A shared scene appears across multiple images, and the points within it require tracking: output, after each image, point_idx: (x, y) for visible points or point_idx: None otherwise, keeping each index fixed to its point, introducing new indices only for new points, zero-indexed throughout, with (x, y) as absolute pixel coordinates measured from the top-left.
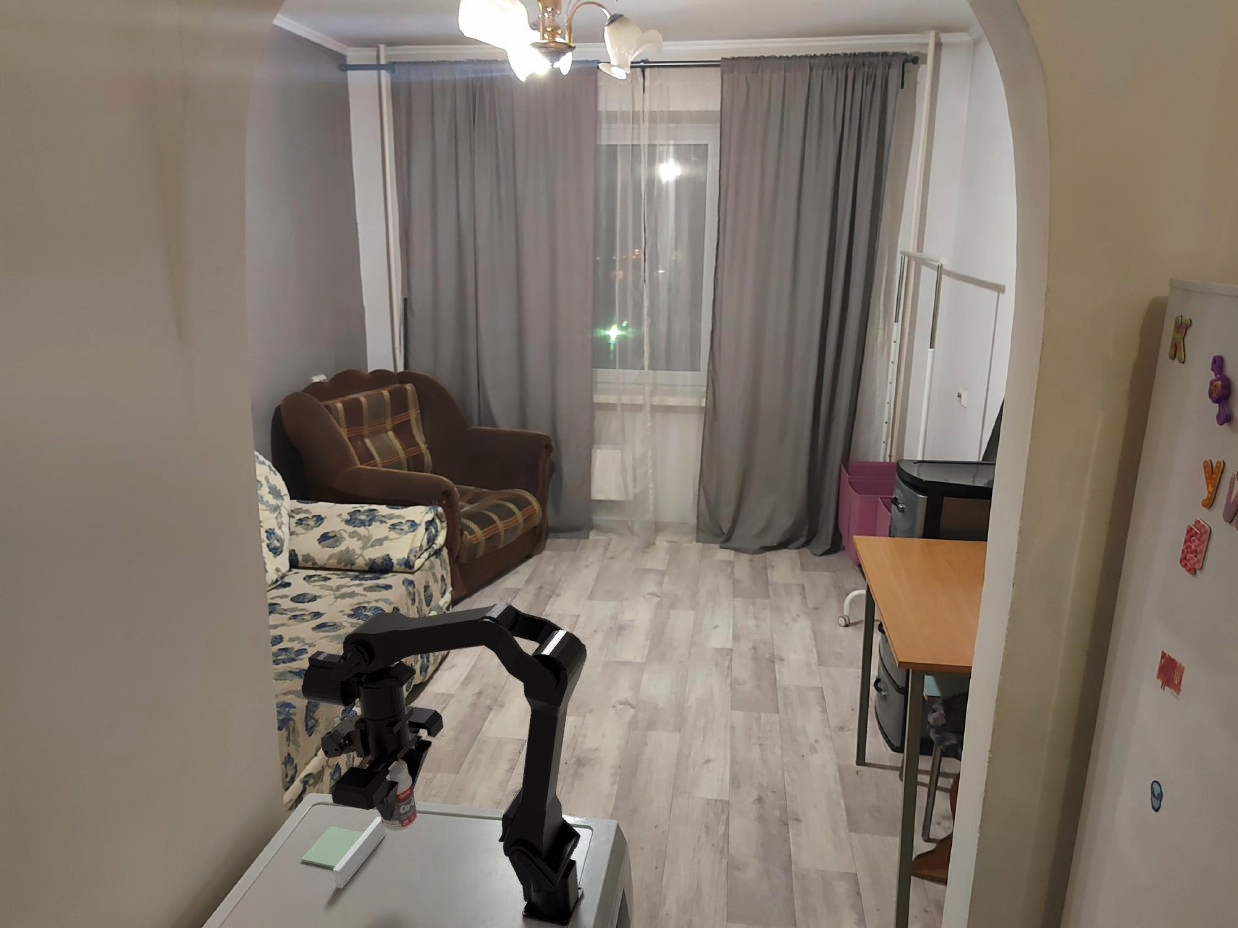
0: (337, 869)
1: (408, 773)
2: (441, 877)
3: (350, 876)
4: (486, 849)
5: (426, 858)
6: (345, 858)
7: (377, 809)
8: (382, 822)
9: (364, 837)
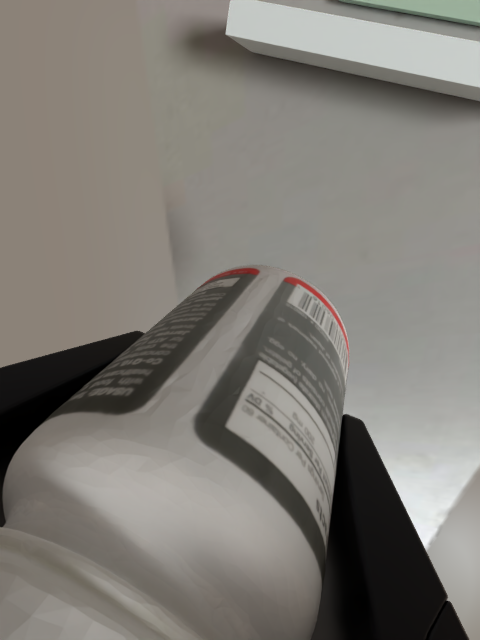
0: (230, 22)
1: (321, 632)
2: None
3: (296, 61)
4: (374, 423)
5: (362, 293)
6: (292, 27)
7: (53, 355)
8: (201, 285)
9: (423, 63)
